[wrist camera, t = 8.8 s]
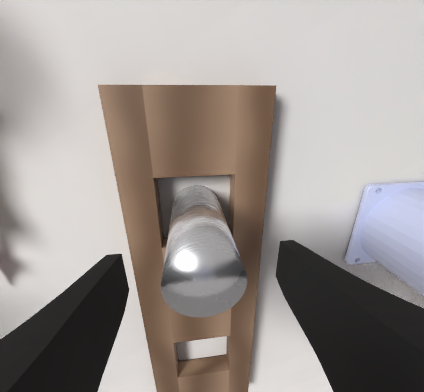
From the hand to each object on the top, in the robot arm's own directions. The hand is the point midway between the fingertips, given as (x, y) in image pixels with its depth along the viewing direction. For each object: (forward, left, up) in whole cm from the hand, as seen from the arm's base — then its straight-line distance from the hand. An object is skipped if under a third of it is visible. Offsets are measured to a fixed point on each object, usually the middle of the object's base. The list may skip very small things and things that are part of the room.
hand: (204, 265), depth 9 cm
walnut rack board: (0, +8, -7) cm, 11 cm away
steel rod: (0, 0, -7) cm, 7 cm away
